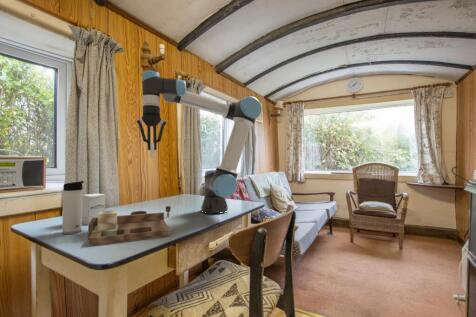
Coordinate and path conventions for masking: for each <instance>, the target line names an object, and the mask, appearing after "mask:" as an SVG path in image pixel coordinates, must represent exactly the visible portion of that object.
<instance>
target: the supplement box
mask: <svg viewBox="0 0 476 317" xmlns="http://www.w3.org/2000/svg"><path fill="white" fill-rule="evenodd" d="M100 211H106V193H105V194H104V193H88V194H82V224H84V225H87V226H88V224H89V223H90V221H91V219H92V218H96V217H98V214H99V212H100Z"/></svg>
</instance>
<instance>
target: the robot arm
mask: <svg viewBox="0 0 476 317" xmlns="http://www.w3.org/2000/svg"><path fill="white" fill-rule="evenodd" d="M141 75H142V77H141V78H142V79H141V86H142V92H141V93H142V98H141V99H142V105H143V106H142V116H141V118H140V119H138V120H137V121H136V123H137V125H138V127H139V131H140V134H141V138H142V141H143V142H144V143H146V144H147V151H149V158H155V151H157V148H158V147H157V146H158V145H157V144H158V143H160V142H161V141H162V137H163V133H164V128H165V125H166V124H167V122H166V121H164V120H163V119H162V117H161V107H160V105H161V99H160V97H161V95H162V98H163V100H164V101H165V102H166V103H170V104H172V103H175V104H179V105H182V106H187V107H191V108H195V109H197V110H201V111H205V112H209V113H212V114H216V115H219V116H221V117H223V118H224V119H227V120H231V121H233V122H234V123H233V126H232V129H231V132H230V135H229V138H228V141H227V144H226V147H225V151H224V154H223V156H222V159H221V163H220V165H219V166H217V167H216V168H215V169H214V170H213V169H211V170H206V171H205V173H204V190H203V191H204V198H203V201H202V203H201V206H200V212H201V211H203V212H206V213H220V212H225V211H227V210H228V211H229V206H228V204H227V200H226V198H228V197H232V196H233V195H234V194H235V192H236V191H237V190H238V189H237V188H238V181H237V178H238V176H239V174H238V172H237V169H238V165H239V164H240V160H241V156H242V153H243V150H244V147H245V144H246V140H247V139H248V134H249V131H250V129H251V128H253V126H254V125H255V122H256V120H257V118H259V116H260V115H261V113H262V104H261V102H260V101H259V99H257V97H255V96H245V97H243V98H241V99H240V100H238V101H236V102H231V101H226V102H225V101H222V100H218V99H215V98H211V97H208V96H206V95H201V94H198V93H196V92H195V93H194V92H191V91H188V90H187V83H186V81H185V80H184V79H179V78H177V79H176V78H168V77H161V75H160V73H159V72H158V71H154V70H145V71H143V72H142V74H141ZM143 123H144V124H145V126H146V132H147V133H146V134H145V131H144V126H143ZM158 125H160V127H159V131H158V136H157V126H158ZM151 127H152V132H153V133H152V134H153V135H152V136H153V137H151ZM146 137H147V138H146ZM151 138H152V141H153V142H151ZM206 213H205V214H206Z"/></svg>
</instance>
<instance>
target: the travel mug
mask: <svg viewBox="0 0 476 317" xmlns="http://www.w3.org/2000/svg"><path fill="white" fill-rule="evenodd" d="M84 183H85V182H84V180H81V181H75V182H67V183H64V184H63V187H62V190H63V193H62V227H61V229H62V231H61V233H62V234H63V235H66V236H67V235H68V236H69V235H76V234H79V233H81V232H83V231H82V230H83V227H82V226H83V223H82V195H83V193H84V192H83V190H84V189H83V184H84Z"/></svg>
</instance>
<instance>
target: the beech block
mask: <svg viewBox="0 0 476 317" xmlns="http://www.w3.org/2000/svg"><path fill="white" fill-rule="evenodd" d="M117 216H118V209H114V210H111V209H110V210H105V211H100V212H99V214H98V231H100V230H111V229H116V227H117Z"/></svg>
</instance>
